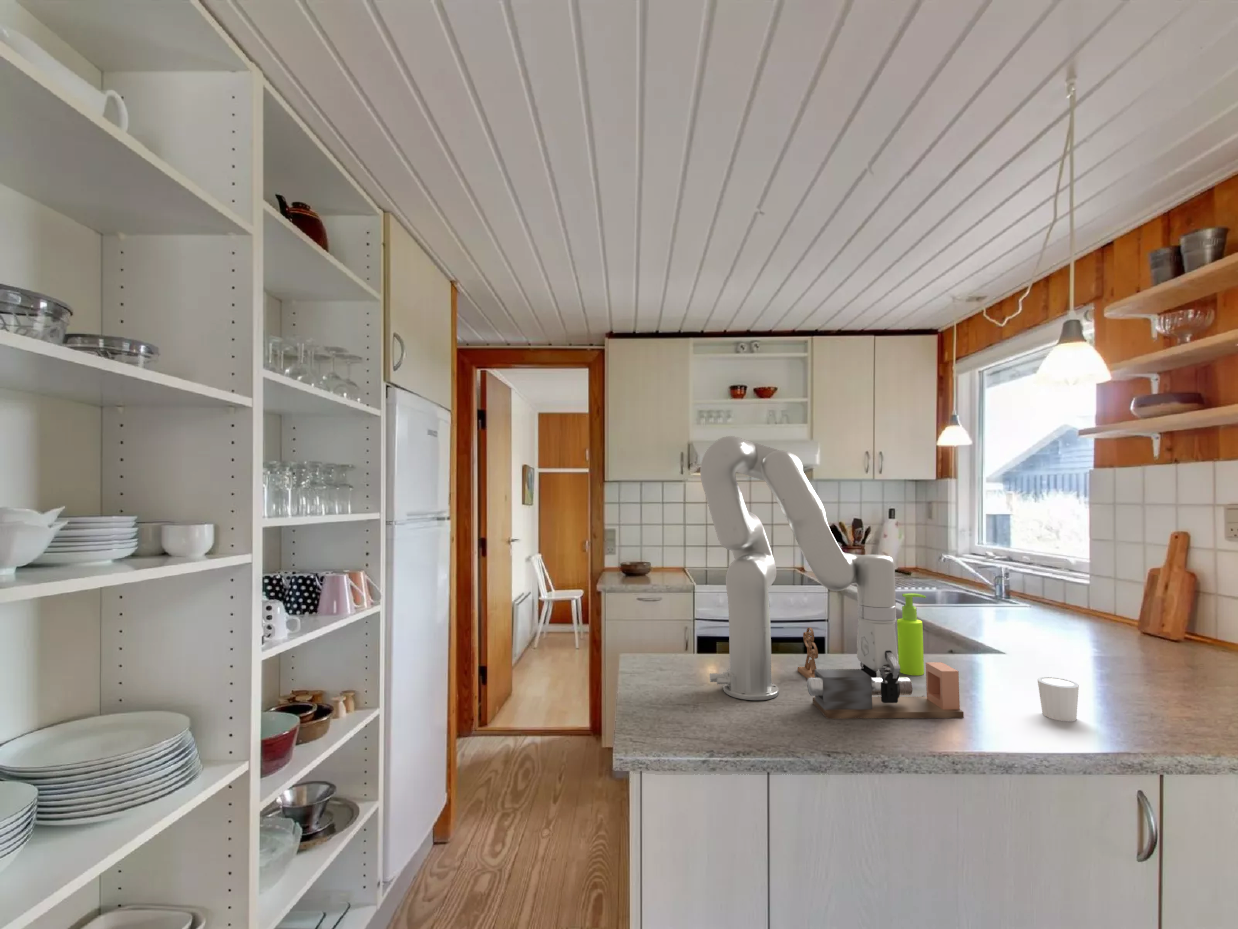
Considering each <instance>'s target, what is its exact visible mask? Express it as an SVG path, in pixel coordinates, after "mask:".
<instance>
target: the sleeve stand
mask: <svg viewBox="0 0 1238 929" xmlns="http://www.w3.org/2000/svg"><path fill="white" fill-rule="evenodd" d="M815 678H822V679H823V696H812V703H813V705H814V706H815V707H816V708H817V709H818V710H819V712H820V713H822V715H823V716H824V717H825V718H826V719H827V720H829V719H831V720H832V719H834V720H835V719H839V720H840V719H948V718H949V719H955V718H957V719H959V718H964V717H965V715H964V711H963V710H962V709H961V708H960V709H942V708H940V707H939V706H937V705H935V704H934V703H932V702H931V701H929V700H928V699H927V696H899V698H898V702H897V703H883V702H882V701H881V696H873V695H872V679H871V676H869V675H868V674H867V673H865V672H864V671H862V670H861V668H837V669H835V668H832V669H831V668H830V669H829V668H822V669H817V668H816V669H815Z"/></svg>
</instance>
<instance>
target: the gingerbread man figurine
mask: <svg viewBox="0 0 1238 929" xmlns="http://www.w3.org/2000/svg"><path fill="white" fill-rule="evenodd" d="M802 635H803V636H802V637H803V638H802V639H803V643H804V646H805V647H806V651H807V652H806V659H805V663H804V666H797V672H798V673H800V675H802V676H803V677H804V678H806V679H807V680H808V678H815V669H817V665H816V661H815V659H819V650H818V647H817V644H816V643H815V642H814V641H815V632H814V629H813V627H807V628H806V631H804V632H803V633H802ZM810 658H811V659H810Z"/></svg>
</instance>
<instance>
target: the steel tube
mask: <svg viewBox="0 0 1238 929" xmlns="http://www.w3.org/2000/svg"><path fill="white" fill-rule="evenodd" d="M888 673H889V672H886V673H885V674H886V676H887V675H888ZM871 679H872V696H881V682H883V681H882V678H881V676H878V677H871ZM806 685H807V691H808V695H809V697H810V696H812V697H815V696H823V679H822V678H808V679H807V682H806ZM912 694H913V684H912V681H911V679H910V678H909V677H908V676H899V679H898V698H899V697H901V696H911V695H912Z"/></svg>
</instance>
